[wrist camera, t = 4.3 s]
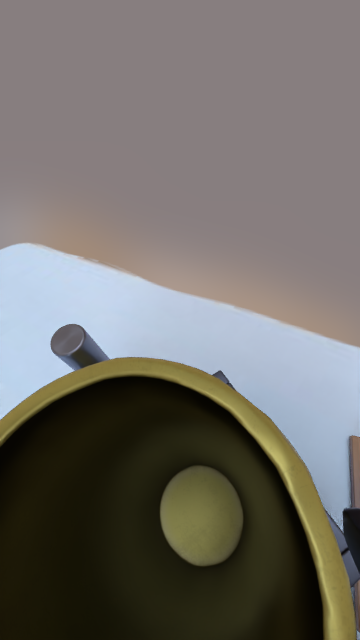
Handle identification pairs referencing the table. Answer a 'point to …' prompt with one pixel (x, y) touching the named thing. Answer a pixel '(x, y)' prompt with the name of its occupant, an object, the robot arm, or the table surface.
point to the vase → (160, 515)
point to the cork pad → (355, 505)
